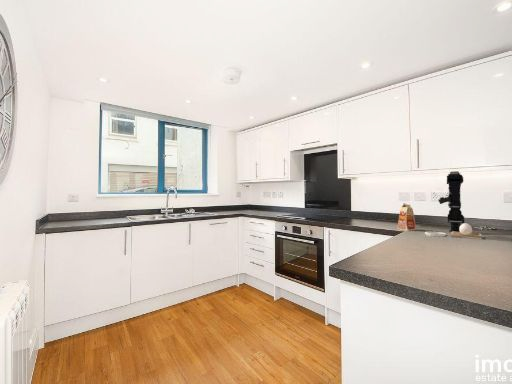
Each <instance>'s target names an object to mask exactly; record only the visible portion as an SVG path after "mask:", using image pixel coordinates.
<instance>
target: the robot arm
mask: <svg viewBox="0 0 512 384" xmlns="http://www.w3.org/2000/svg"><path fill="white" fill-rule="evenodd" d="M463 183H464V176H463V175H462V174H461V172H459V171H458V170H457V171H455V170H454V171H450V172H449V173H448V174H447V175H446V185H448V195H447V196H445V197H443V196H442V197H439V199H438V200H437V201H438V202H439V204H440V205H441V204H442V205H443V204H445V203H447V205H448V209H449V211H448V214H447V223H448V224H449V232H450V233H451V232H452V231H454V232H460V231H459V228H460V226H461V225H462V224H463V223H465V216H464V215H463V212H462V211H461V208H462V201H461V187H462V184H463Z"/></svg>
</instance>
